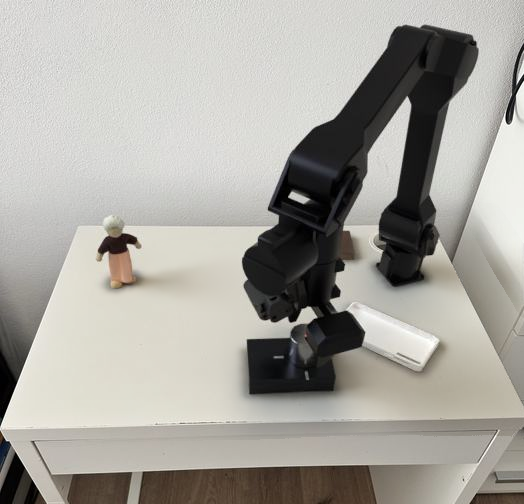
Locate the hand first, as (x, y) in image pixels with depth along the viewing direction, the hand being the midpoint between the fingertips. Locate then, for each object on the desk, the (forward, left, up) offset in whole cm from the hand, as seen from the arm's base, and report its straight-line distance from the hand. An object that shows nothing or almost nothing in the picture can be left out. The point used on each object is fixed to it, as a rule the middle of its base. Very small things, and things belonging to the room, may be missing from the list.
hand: (305, 342), depth 74 cm
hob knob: (0, 0, -3) cm, 3 cm away
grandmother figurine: (+20, -29, -6) cm, 36 cm away
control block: (-15, -27, -6) cm, 31 cm away
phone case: (-15, -2, -6) cm, 16 cm away
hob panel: (+2, 0, -6) cm, 6 cm away
